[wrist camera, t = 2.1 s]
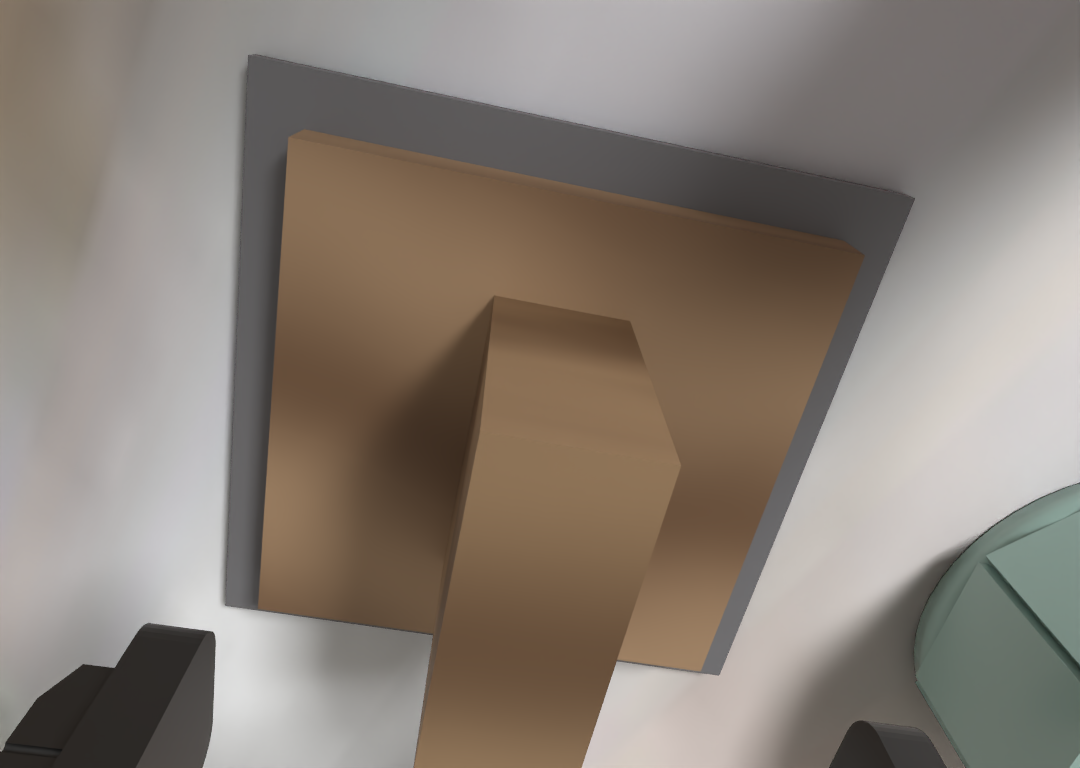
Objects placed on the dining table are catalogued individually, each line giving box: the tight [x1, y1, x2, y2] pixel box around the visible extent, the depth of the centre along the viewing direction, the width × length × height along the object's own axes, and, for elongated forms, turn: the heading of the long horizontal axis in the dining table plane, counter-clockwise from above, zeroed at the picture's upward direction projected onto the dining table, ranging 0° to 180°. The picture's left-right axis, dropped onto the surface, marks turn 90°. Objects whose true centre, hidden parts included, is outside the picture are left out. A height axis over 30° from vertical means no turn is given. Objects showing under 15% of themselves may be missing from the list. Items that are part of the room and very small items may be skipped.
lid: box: [258, 129, 865, 768], centre depth 13 cm, size 10×10×6 cm
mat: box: [225, 54, 915, 675], centre depth 16 cm, size 12×12×1 cm
